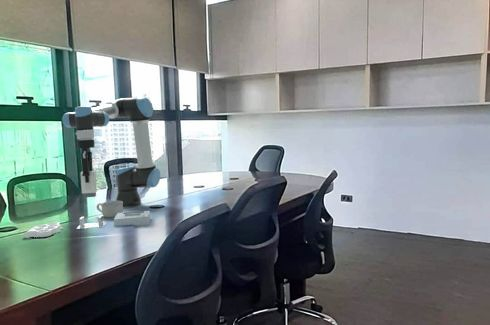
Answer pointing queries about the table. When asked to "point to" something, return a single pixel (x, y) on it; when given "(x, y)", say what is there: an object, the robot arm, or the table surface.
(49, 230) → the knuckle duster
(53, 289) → the table surface
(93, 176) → the plug
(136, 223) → the switch box
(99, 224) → the holster
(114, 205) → the teacup
